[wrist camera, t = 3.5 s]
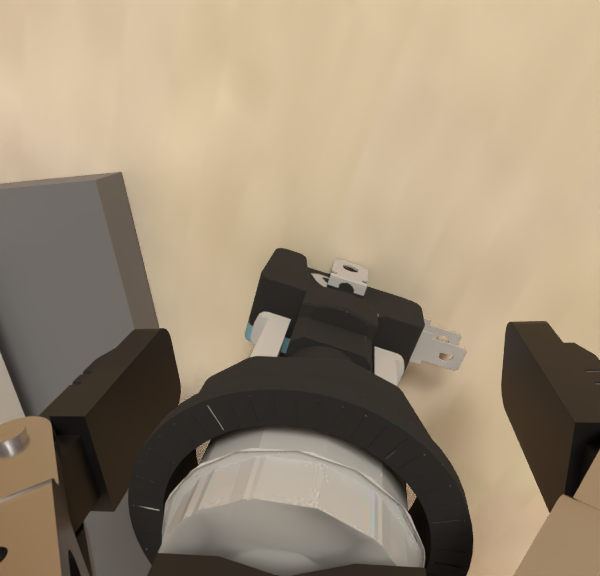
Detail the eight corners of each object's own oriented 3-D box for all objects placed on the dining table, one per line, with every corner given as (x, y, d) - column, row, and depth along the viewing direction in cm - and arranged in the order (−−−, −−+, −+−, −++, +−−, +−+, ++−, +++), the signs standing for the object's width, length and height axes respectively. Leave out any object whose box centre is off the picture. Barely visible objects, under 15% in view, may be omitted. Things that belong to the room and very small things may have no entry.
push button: (488, 265, 14) (686, 568, 5) (422, 403, 17) (481, 786, 7) (279, 199, 15) (117, 381, 5) (241, 343, 17) (78, 648, 8)
